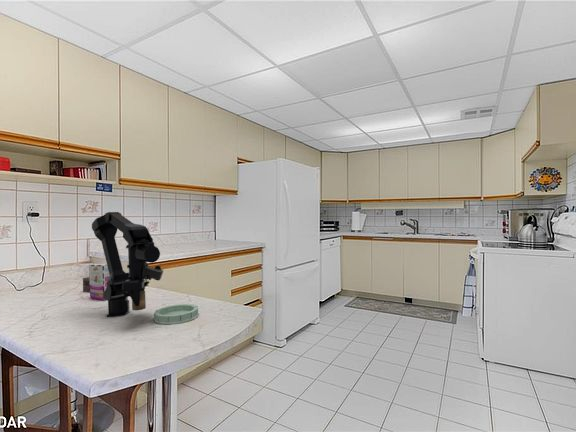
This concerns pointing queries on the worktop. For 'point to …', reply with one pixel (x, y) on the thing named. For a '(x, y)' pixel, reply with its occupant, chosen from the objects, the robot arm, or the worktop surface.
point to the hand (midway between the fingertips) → (138, 304)
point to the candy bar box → (98, 280)
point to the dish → (176, 314)
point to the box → (86, 284)
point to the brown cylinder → (142, 302)
